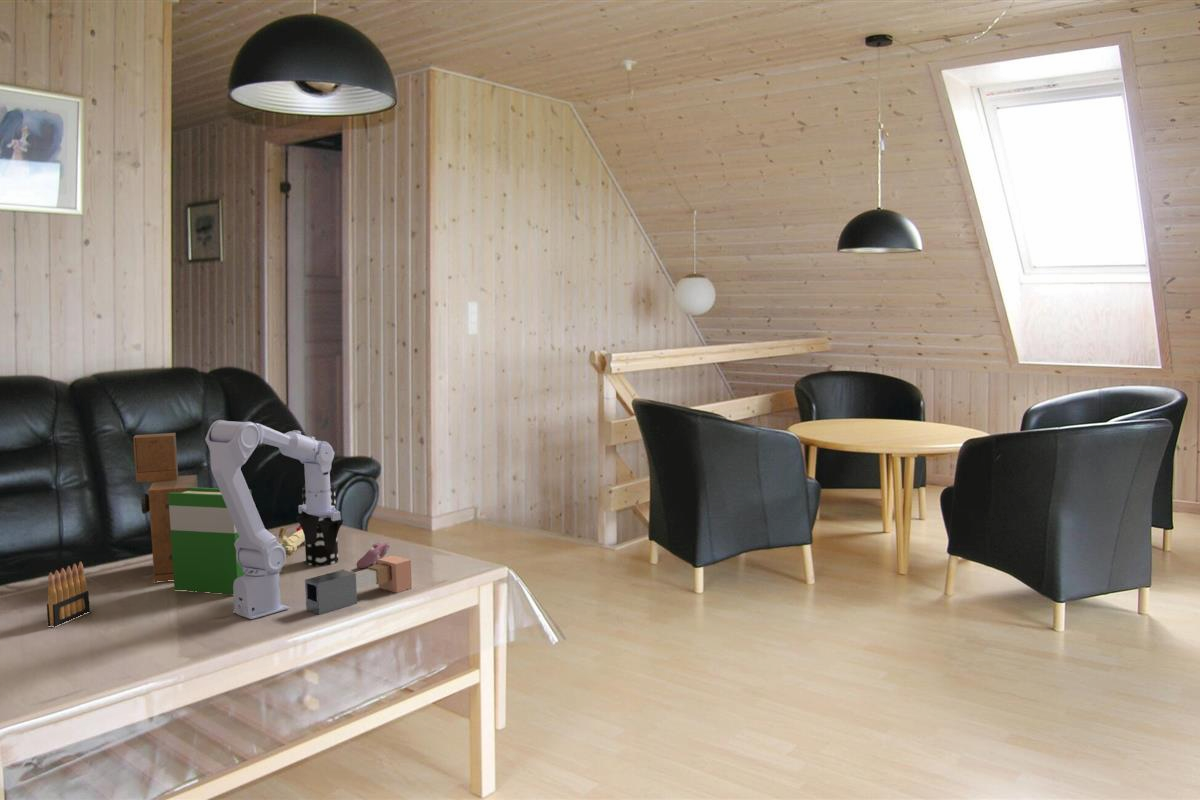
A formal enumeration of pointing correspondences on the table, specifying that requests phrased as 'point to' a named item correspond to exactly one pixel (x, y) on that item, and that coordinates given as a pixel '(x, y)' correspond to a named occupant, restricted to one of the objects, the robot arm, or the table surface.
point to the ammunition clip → (67, 595)
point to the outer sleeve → (330, 591)
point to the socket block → (397, 574)
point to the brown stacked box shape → (160, 493)
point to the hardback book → (203, 541)
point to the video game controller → (373, 555)
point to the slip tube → (373, 575)
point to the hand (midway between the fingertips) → (320, 546)
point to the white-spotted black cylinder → (321, 542)
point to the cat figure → (291, 540)
